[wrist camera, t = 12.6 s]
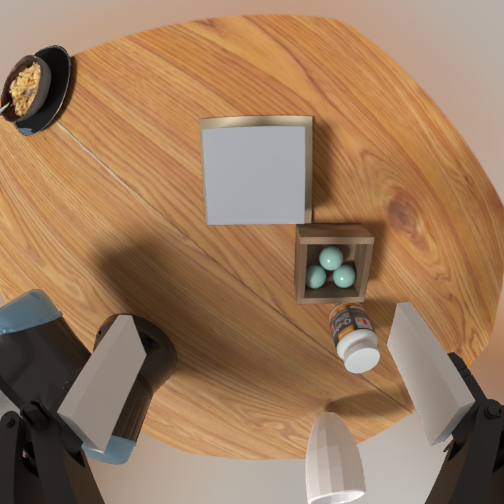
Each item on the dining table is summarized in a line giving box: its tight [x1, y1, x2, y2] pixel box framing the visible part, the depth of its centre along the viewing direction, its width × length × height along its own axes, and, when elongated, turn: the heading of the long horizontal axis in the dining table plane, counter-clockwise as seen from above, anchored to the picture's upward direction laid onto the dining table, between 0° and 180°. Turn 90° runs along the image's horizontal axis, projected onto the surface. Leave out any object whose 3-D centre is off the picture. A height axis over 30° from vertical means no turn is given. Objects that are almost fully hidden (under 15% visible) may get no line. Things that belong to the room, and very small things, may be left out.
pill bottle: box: [329, 302, 380, 373], centre depth 35 cm, size 6×6×10 cm
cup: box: [306, 412, 366, 504], centre depth 39 cm, size 10×10×22 cm
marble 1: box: [305, 265, 326, 289], centre depth 35 cm, size 3×3×3 cm
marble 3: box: [333, 264, 356, 288], centre depth 35 cm, size 3×3×3 cm
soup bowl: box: [0, 45, 71, 136], centre depth 24 cm, size 15×16×7 cm
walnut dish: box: [294, 223, 374, 304], centre depth 34 cm, size 9×9×5 cm
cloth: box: [199, 116, 312, 224], centre depth 32 cm, size 13×13×1 cm
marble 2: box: [319, 246, 343, 270], centre depth 34 cm, size 3×3×3 cm
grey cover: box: [202, 126, 305, 225], centre depth 29 cm, size 10×10×5 cm
